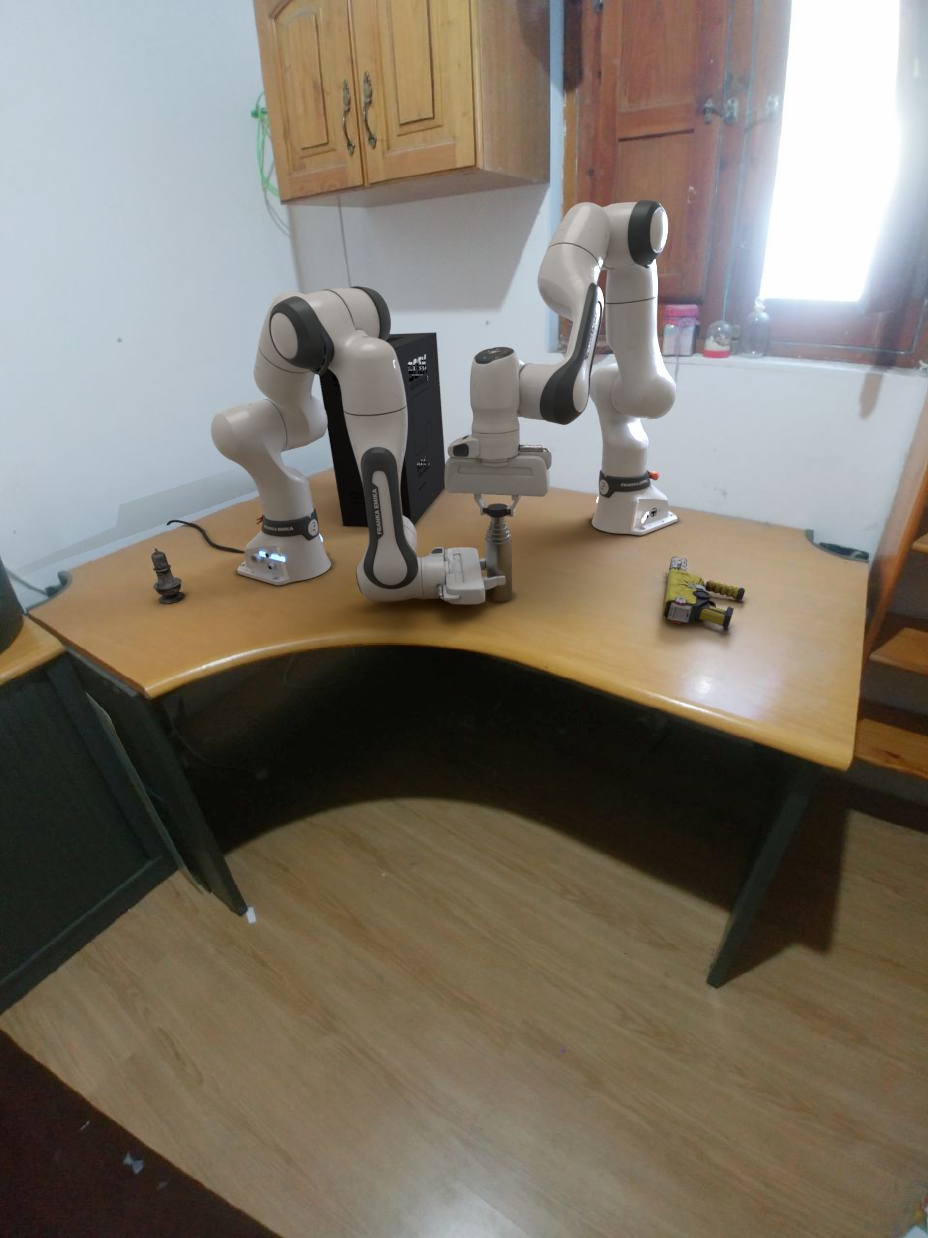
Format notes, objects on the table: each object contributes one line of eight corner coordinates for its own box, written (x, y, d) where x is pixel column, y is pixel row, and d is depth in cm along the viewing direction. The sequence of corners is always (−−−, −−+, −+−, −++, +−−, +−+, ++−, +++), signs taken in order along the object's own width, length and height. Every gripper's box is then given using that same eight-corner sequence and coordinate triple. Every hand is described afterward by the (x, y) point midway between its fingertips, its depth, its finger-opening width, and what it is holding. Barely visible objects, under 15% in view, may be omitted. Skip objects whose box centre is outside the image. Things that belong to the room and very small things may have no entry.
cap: (496, 519, 116) (496, 511, 115) (483, 514, 119) (483, 506, 118) (512, 514, 118) (511, 506, 117) (498, 509, 121) (498, 501, 120)
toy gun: (744, 566, 127) (671, 553, 131) (753, 616, 107) (666, 600, 111) (738, 586, 129) (666, 573, 133) (745, 639, 109) (660, 622, 113)
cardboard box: (411, 527, 164) (393, 348, 142) (343, 525, 169) (314, 350, 146) (446, 484, 196) (436, 332, 173) (387, 483, 200) (370, 334, 178)
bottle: (516, 593, 129) (515, 507, 119) (506, 604, 125) (504, 516, 115) (493, 588, 131) (490, 504, 121) (483, 599, 127) (479, 513, 117)
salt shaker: (175, 604, 132) (159, 554, 126) (152, 603, 133) (134, 553, 127) (191, 592, 137) (176, 543, 131) (168, 591, 138) (152, 542, 132)
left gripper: (436, 585, 114) (509, 580, 114) (434, 543, 132) (497, 539, 132) (439, 614, 117) (509, 609, 118) (437, 569, 135) (498, 565, 135)
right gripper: (554, 441, 112) (552, 512, 118) (449, 439, 117) (453, 507, 124) (549, 449, 106) (547, 523, 113) (439, 447, 112) (444, 518, 119)
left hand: (503, 572), depth 125 cm, fingers closed on bottle, 5 cm apart
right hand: (497, 515), depth 119 cm, fingers closed on cap, 4 cm apart
